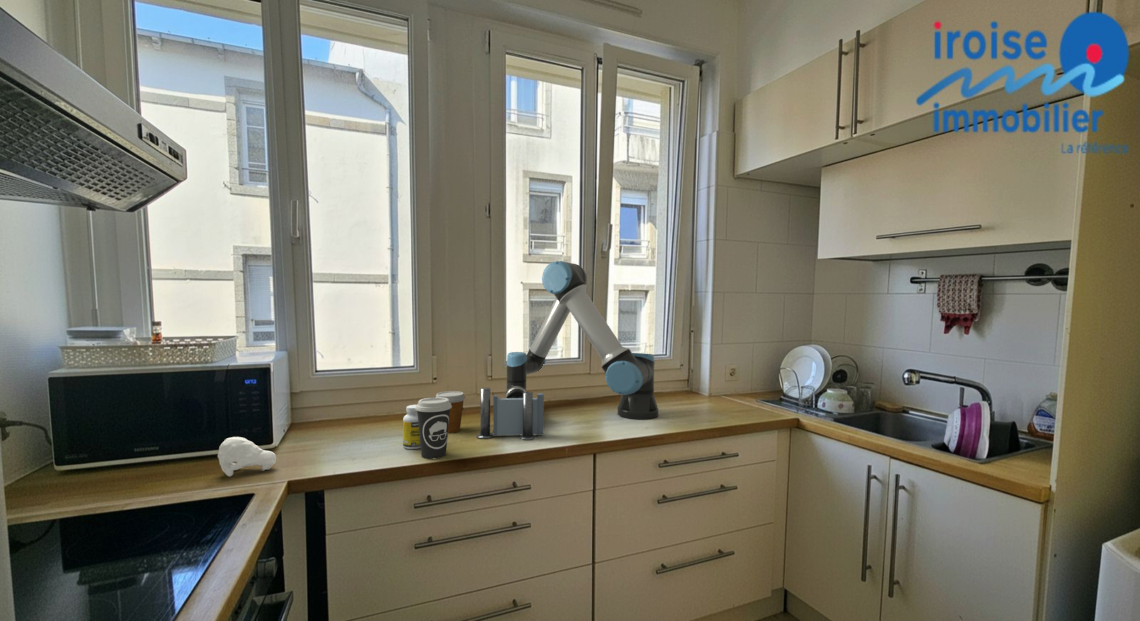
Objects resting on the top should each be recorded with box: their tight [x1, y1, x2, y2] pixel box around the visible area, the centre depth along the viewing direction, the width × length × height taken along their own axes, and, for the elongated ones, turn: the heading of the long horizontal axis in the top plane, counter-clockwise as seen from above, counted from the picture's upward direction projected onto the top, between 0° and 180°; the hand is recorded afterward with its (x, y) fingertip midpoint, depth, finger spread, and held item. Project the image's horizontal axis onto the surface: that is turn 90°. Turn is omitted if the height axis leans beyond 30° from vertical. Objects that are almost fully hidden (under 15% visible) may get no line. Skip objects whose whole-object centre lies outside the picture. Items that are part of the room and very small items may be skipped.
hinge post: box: [476, 387, 495, 440], centre depth 145 cm, size 5×5×15 cm
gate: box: [492, 392, 545, 436], centre depth 146 cm, size 16×2×12 cm, turn 96°
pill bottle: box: [402, 404, 421, 450], centre depth 135 cm, size 6×6×12 cm
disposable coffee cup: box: [435, 390, 466, 434], centre depth 152 cm, size 10×10×12 cm
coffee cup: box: [415, 396, 452, 460], centre depth 128 cm, size 10×10×15 cm
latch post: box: [519, 391, 537, 441], centre depth 144 cm, size 5×5×14 cm
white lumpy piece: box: [217, 436, 277, 478], centre depth 115 cm, size 6×8×12 cm
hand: (517, 414), depth 147 cm, fingers closed, pressing on gate
